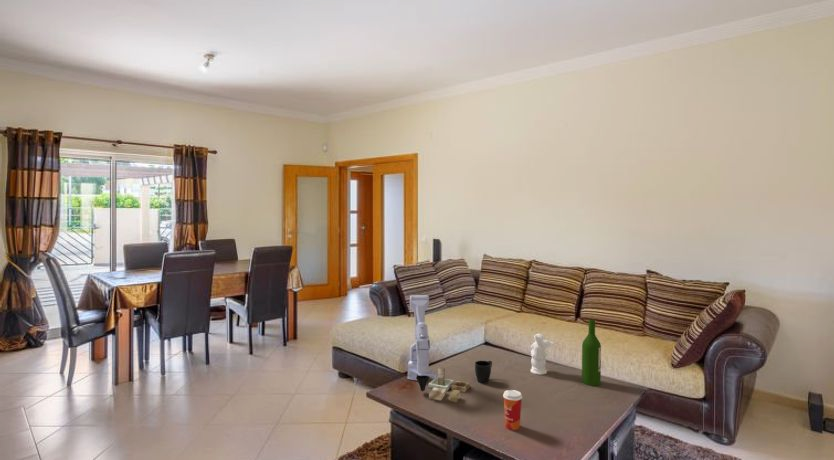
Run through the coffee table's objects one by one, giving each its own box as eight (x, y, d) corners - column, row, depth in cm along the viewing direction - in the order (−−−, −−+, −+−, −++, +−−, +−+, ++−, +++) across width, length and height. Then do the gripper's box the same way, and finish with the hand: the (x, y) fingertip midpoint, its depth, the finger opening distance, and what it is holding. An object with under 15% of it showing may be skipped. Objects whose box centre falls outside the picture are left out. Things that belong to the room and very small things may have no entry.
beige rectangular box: (429, 399, 201) (429, 394, 201) (433, 392, 209) (433, 387, 208) (441, 401, 199) (441, 396, 199) (445, 394, 207) (445, 389, 207)
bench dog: (450, 401, 198) (450, 393, 198) (454, 396, 203) (454, 389, 203) (456, 402, 197) (456, 394, 197) (460, 398, 202) (460, 390, 201)
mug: (498, 379, 224) (498, 361, 224) (485, 385, 215) (485, 367, 215) (484, 375, 230) (484, 357, 229) (471, 381, 221) (471, 363, 221)
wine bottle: (601, 387, 213) (602, 322, 212) (582, 384, 216) (582, 321, 215) (599, 380, 222) (600, 318, 221) (581, 378, 225) (582, 317, 223)
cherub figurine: (534, 367, 241) (535, 328, 240) (556, 372, 234) (557, 332, 233) (526, 373, 231) (527, 333, 230) (549, 379, 224) (549, 337, 223)
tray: (428, 387, 214) (428, 384, 214) (435, 380, 223) (435, 377, 223) (446, 391, 209) (446, 387, 209) (454, 383, 218) (454, 380, 218)
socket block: (451, 389, 211) (451, 385, 211) (456, 384, 217) (456, 380, 217) (465, 392, 208) (465, 388, 208) (469, 386, 214) (469, 383, 214)
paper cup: (500, 422, 178) (500, 389, 177) (518, 421, 179) (518, 388, 178) (506, 432, 170) (506, 397, 170) (524, 431, 171) (525, 396, 170)
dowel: (443, 386, 214) (443, 370, 213) (437, 385, 215) (437, 369, 215) (445, 383, 217) (445, 367, 217) (439, 382, 218) (439, 367, 218)
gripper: (405, 362, 206) (405, 390, 207) (433, 367, 200) (433, 396, 200) (412, 358, 212) (412, 385, 213) (439, 362, 206) (439, 390, 207)
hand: (422, 390), depth 207 cm, fingers closed
